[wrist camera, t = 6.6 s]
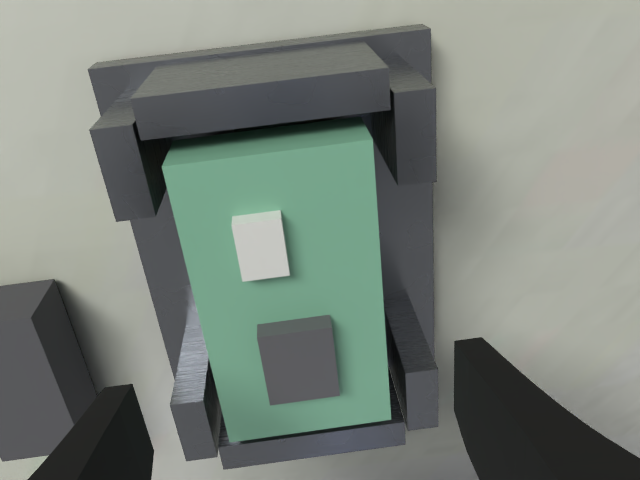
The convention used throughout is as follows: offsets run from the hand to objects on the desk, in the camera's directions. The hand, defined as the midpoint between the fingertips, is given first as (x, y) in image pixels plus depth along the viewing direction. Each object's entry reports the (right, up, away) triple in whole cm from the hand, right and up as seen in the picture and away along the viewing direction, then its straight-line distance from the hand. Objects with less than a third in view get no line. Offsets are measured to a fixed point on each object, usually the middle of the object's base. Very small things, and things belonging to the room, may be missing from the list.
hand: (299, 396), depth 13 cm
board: (0, +2, +4) cm, 5 cm away
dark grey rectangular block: (-10, -1, +9) cm, 14 cm away
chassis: (-1, +4, +8) cm, 9 cm away
